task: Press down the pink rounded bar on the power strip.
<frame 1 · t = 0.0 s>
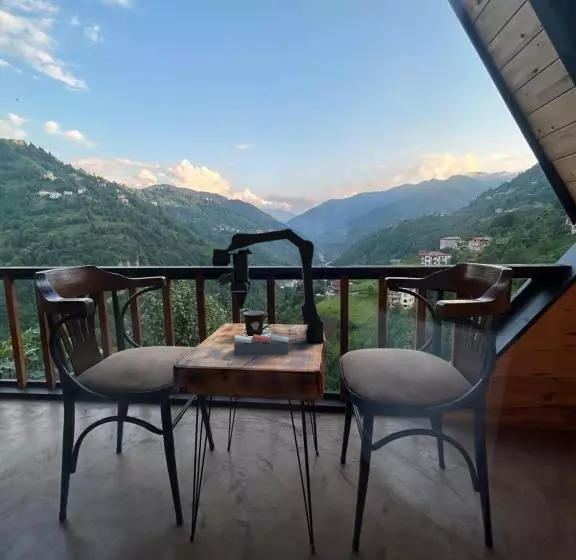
hand: (241, 306, 140), 15 cm above the table, tool pointing down, fingers open, 9 cm apart
pink rounded bar 2: (261, 339, 128), point 5 cm above the table, hinge at -12.0°
rocker 3: (243, 340, 128), point 5 cm above the table, hinge at -12.0°
rocker 1: (279, 339, 128), point 5 cm above the table, hinge at -12.0°
coffee mug: (258, 336, 151), on the table
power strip: (262, 351, 131), on the table
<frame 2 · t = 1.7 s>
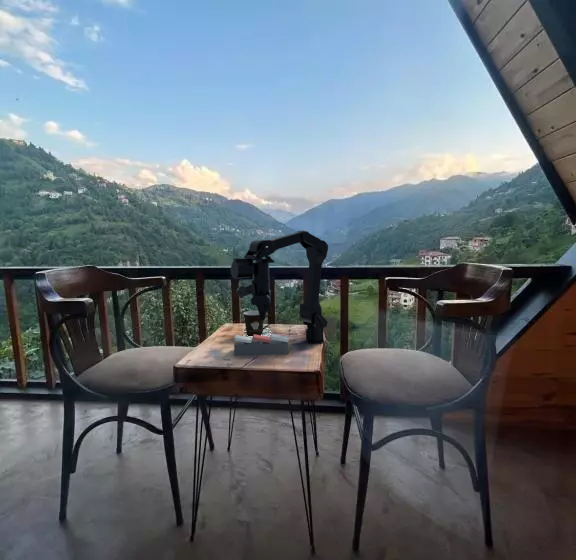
hand: (262, 320, 127), 12 cm above the table, tool pointing down, fingers closed
nothing on the table moved.
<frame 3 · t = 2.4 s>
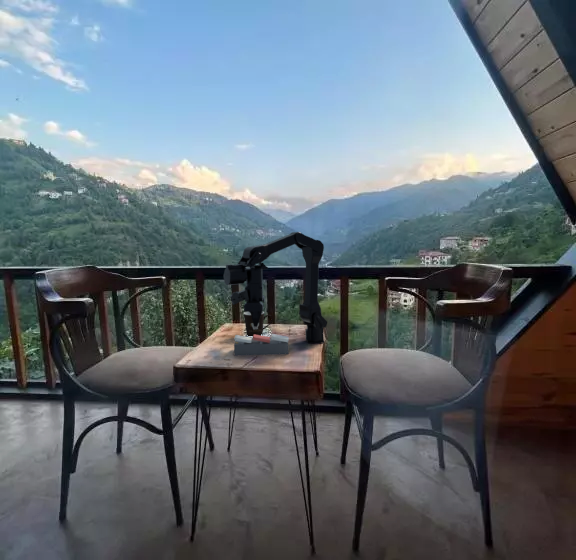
hand: (255, 326, 128), 10 cm above the table, tool pointing down, fingers closed
nothing on the table moved.
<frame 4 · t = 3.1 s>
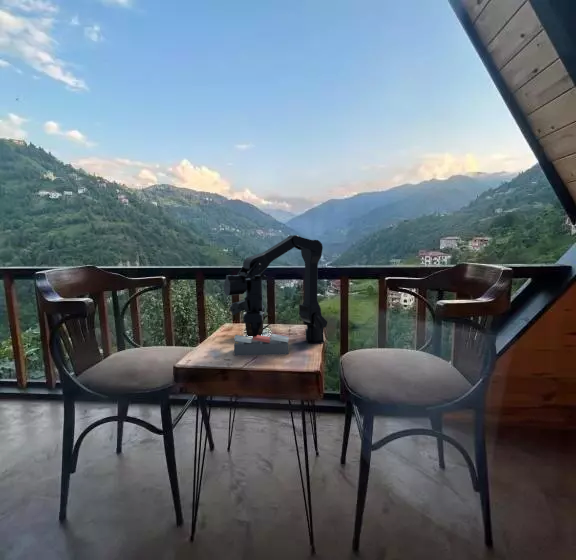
hand: (255, 336, 128), 6 cm above the table, tool pointing down, fingers closed, pressing on pink rounded bar 2
pink rounded bar 2: (261, 339, 128), point 5 cm above the table, hinge at -11.7°, touching gripper
everything else where it was.
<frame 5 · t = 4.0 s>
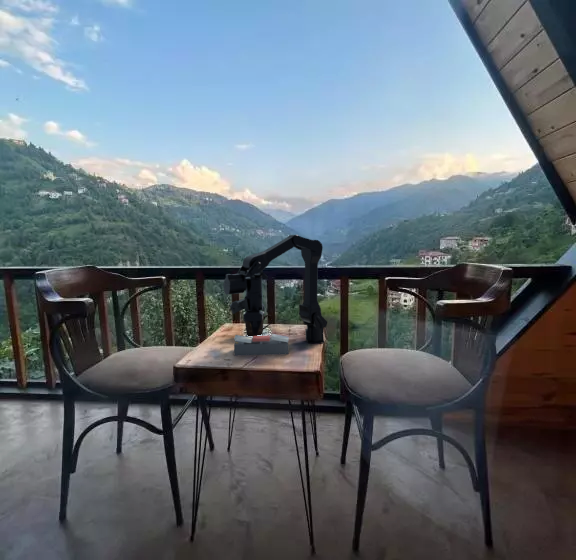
hand: (255, 335, 128), 7 cm above the table, tool pointing down, fingers closed
pink rounded bar 2: (261, 339, 128), point 5 cm above the table, hinge at 0.5°
everything else where it was.
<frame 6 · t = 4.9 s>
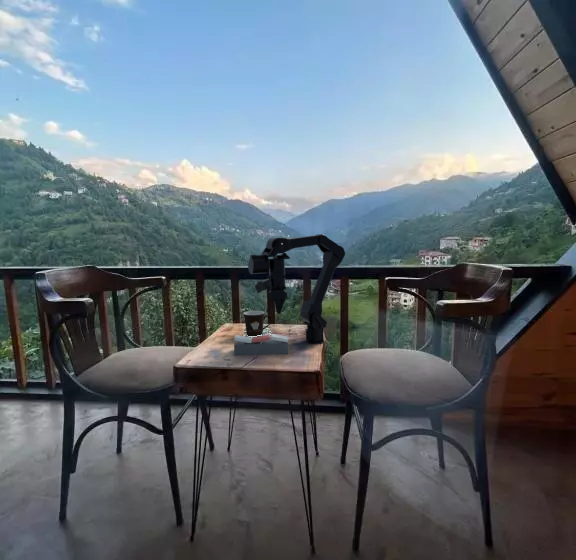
hand: (278, 313, 134), 13 cm above the table, tool pointing down, fingers closed
pink rounded bar 2: (261, 339, 128), point 5 cm above the table, hinge at 8.0°
everything else where it was.
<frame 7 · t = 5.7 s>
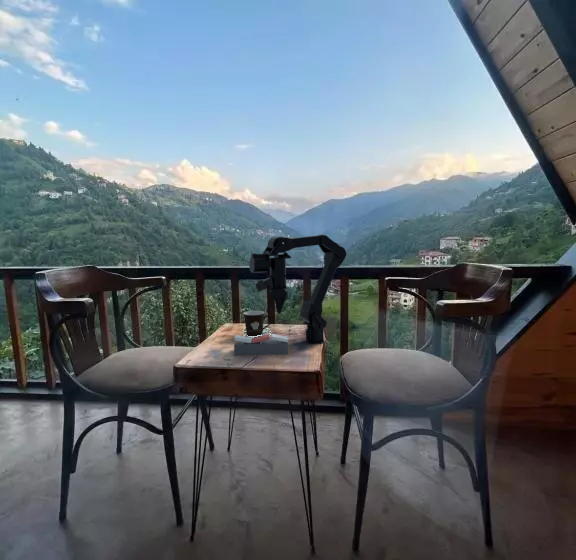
hand: (279, 312, 134), 13 cm above the table, tool pointing down, fingers closed
pink rounded bar 2: (261, 339, 128), point 5 cm above the table, hinge at 13.1°
everything else where it was.
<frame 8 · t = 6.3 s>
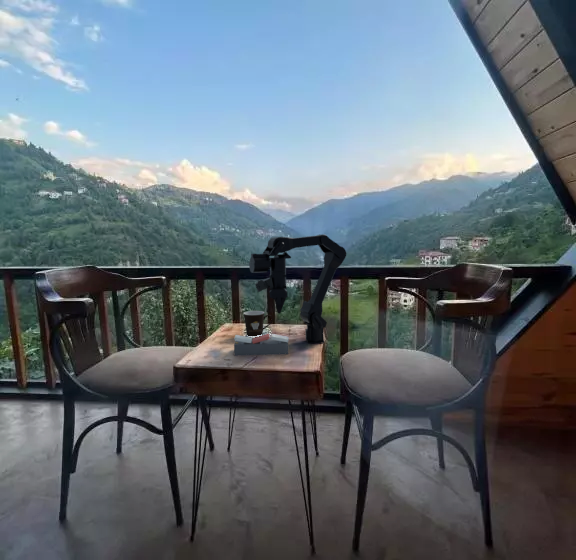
hand: (279, 312, 134), 13 cm above the table, tool pointing down, fingers closed
pink rounded bar 2: (261, 339, 128), point 5 cm above the table, hinge at 16.3°, touching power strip
everything else where it was.
at the end: pink rounded bar 2 at +16° (first picture: -12°); rocker 1 at -12° (first picture: -12°); rocker 3 at -12° (first picture: -12°) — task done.
